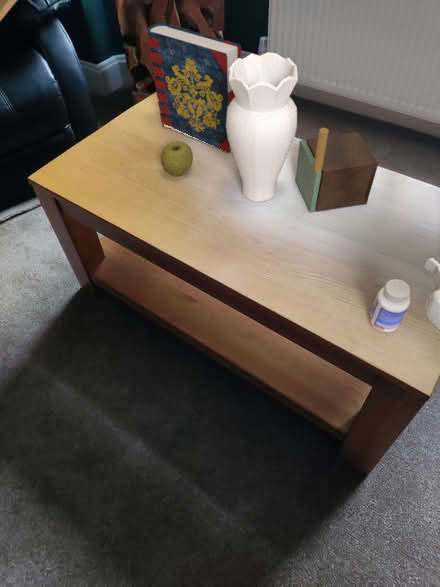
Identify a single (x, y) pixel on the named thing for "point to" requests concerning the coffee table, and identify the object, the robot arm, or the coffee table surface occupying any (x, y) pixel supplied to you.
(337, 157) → the cupboard
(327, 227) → the coffee table surface
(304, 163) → the cupboard door
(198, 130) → the book
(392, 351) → the coffee table surface
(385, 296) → the pill bottle
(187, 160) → the apple
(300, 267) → the coffee table surface
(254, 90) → the vase
